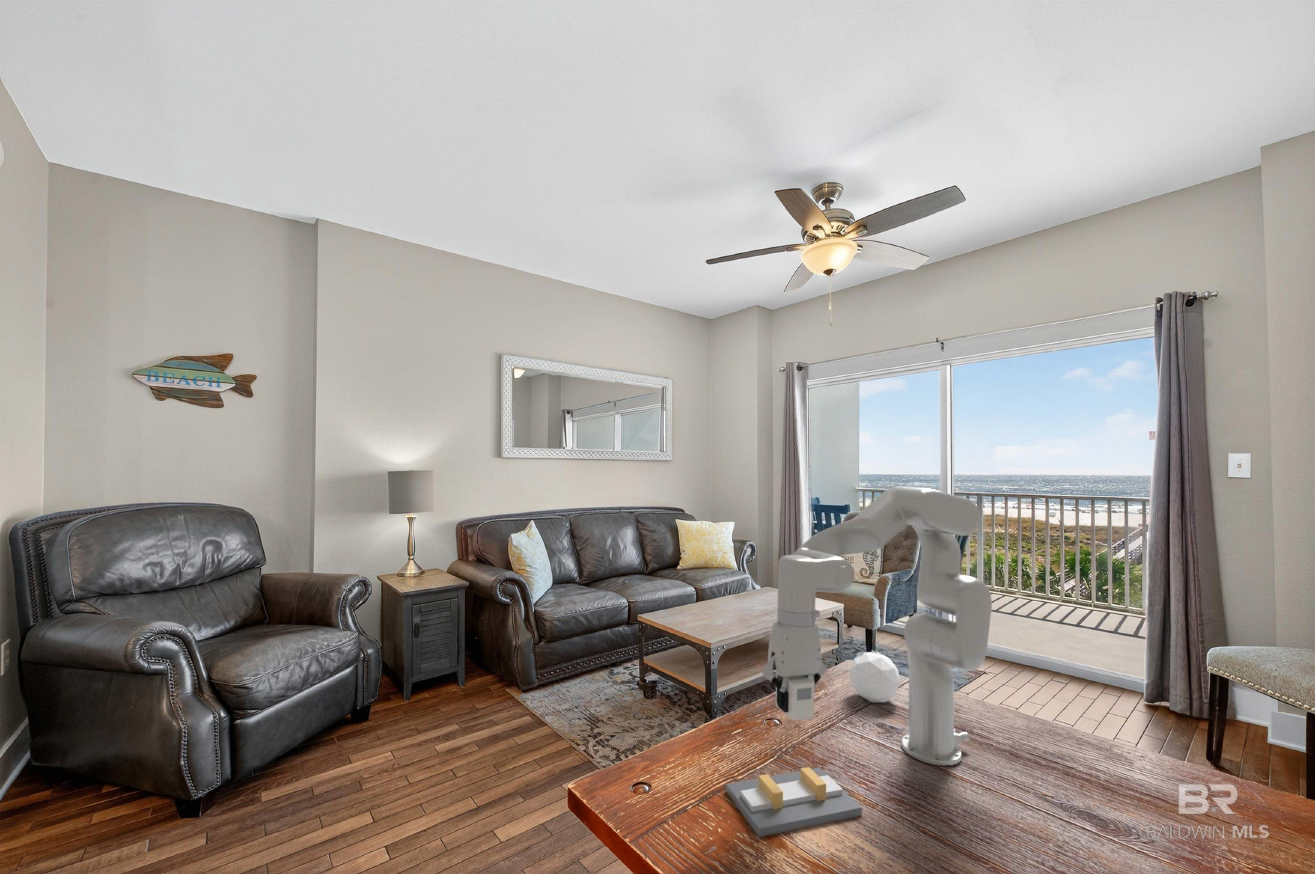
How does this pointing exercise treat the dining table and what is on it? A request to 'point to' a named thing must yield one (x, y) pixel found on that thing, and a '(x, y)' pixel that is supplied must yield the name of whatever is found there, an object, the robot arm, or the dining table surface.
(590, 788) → the dining table surface
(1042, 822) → the dining table surface
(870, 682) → the geodesic sphere
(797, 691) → the block
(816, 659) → the robot arm
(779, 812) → the rail board
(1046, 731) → the dining table surface
